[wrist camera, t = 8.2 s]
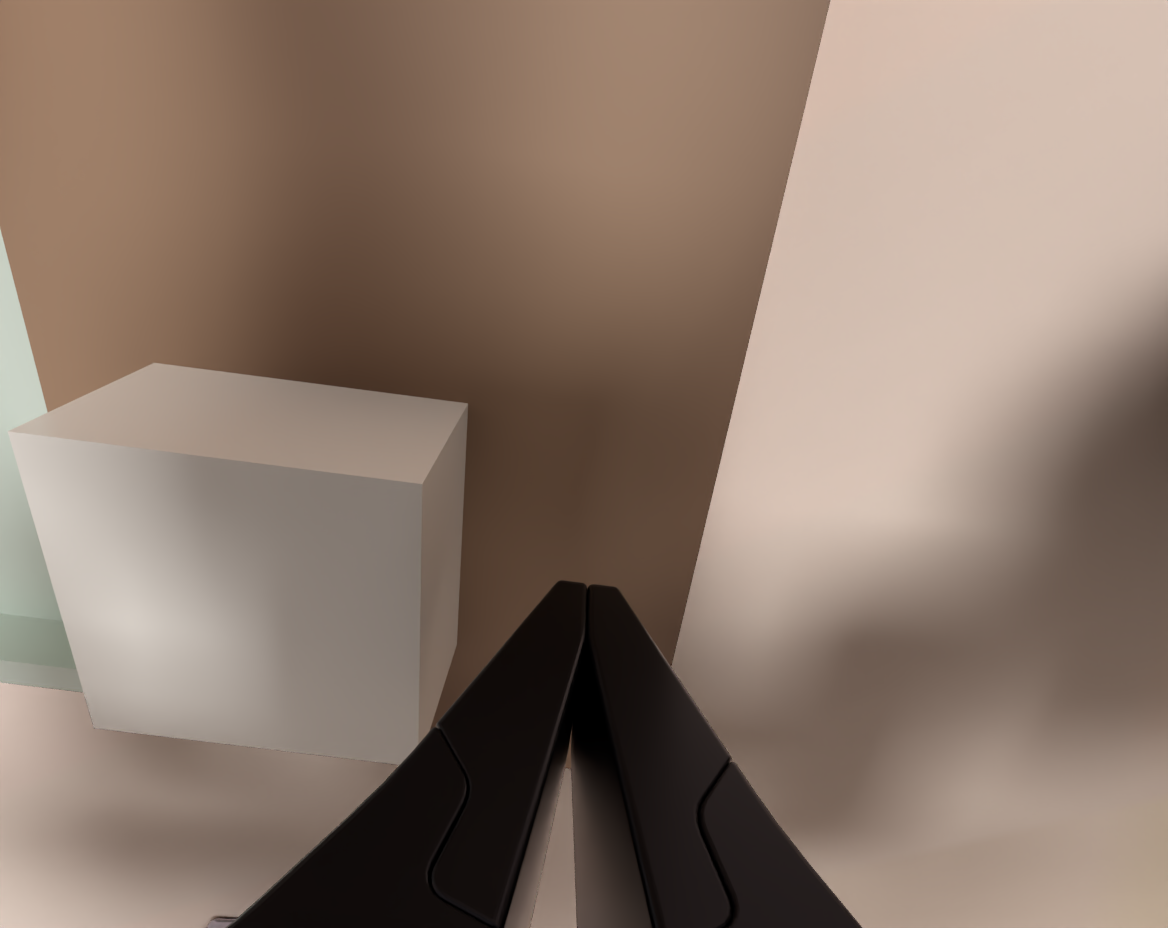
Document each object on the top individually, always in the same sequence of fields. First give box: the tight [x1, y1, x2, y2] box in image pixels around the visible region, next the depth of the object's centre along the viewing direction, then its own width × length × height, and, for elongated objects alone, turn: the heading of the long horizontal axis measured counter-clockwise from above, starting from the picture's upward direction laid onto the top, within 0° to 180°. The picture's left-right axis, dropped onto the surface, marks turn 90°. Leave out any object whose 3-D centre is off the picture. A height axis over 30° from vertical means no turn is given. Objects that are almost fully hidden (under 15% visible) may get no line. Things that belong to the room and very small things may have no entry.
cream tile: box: [8, 363, 468, 765], centre depth 9 cm, size 4×4×2 cm
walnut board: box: [0, 0, 830, 769], centre depth 9 cm, size 10×20×2 cm, turn 173°
